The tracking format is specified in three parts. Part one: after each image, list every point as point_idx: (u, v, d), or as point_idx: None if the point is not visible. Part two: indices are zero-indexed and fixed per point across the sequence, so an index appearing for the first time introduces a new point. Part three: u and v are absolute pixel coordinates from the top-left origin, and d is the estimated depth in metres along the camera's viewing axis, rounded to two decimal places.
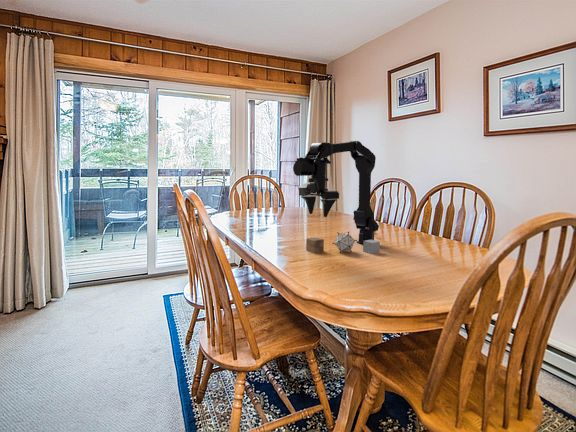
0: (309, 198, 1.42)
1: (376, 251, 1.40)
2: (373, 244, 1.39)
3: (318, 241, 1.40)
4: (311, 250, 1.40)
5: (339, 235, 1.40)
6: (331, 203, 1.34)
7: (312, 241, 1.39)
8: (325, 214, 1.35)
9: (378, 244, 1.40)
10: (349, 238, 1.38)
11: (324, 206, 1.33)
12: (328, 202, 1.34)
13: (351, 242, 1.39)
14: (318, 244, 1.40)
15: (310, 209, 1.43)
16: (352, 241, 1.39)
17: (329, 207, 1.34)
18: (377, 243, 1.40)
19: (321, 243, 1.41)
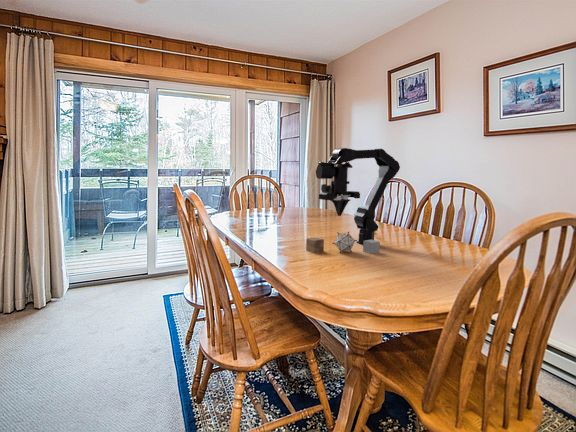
0: None
1: (376, 251, 1.40)
2: (373, 244, 1.39)
3: (318, 241, 1.40)
4: (311, 250, 1.40)
5: (339, 235, 1.40)
6: (338, 204, 1.47)
7: (312, 241, 1.39)
8: (337, 213, 1.49)
9: (378, 244, 1.40)
10: (349, 238, 1.38)
11: None
12: (338, 203, 1.48)
13: (351, 242, 1.39)
14: (318, 244, 1.40)
15: None
16: (352, 241, 1.39)
17: (338, 207, 1.48)
18: (377, 243, 1.40)
19: (321, 243, 1.41)
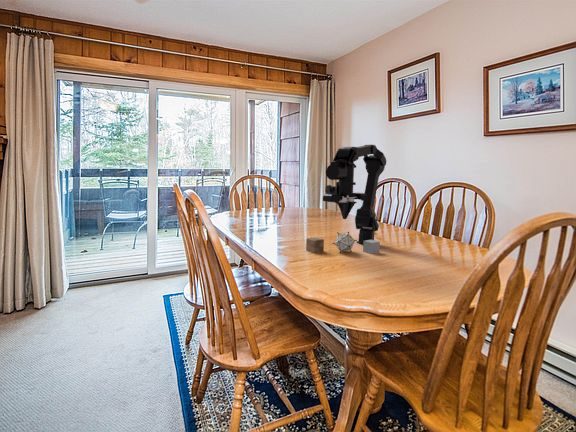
0: None
1: (376, 251, 1.40)
2: (373, 244, 1.39)
3: (318, 241, 1.40)
4: (311, 250, 1.40)
5: (339, 235, 1.40)
6: (344, 206, 1.37)
7: (312, 241, 1.39)
8: (343, 216, 1.40)
9: (378, 244, 1.40)
10: (349, 238, 1.38)
11: None
12: (343, 205, 1.38)
13: (351, 242, 1.39)
14: (318, 244, 1.40)
15: None
16: (352, 241, 1.39)
17: (343, 210, 1.38)
18: (377, 243, 1.40)
19: (321, 243, 1.41)
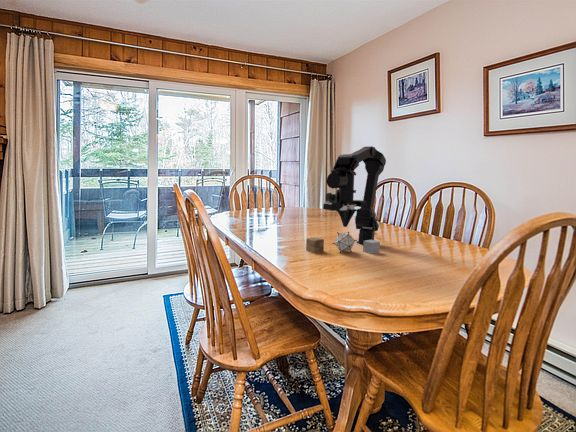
0: None
1: (376, 251, 1.40)
2: (373, 244, 1.39)
3: (318, 241, 1.40)
4: (311, 250, 1.40)
5: (339, 235, 1.40)
6: (344, 214, 1.37)
7: (312, 241, 1.39)
8: (343, 224, 1.40)
9: (378, 244, 1.40)
10: (349, 238, 1.38)
11: None
12: (343, 213, 1.38)
13: (351, 242, 1.39)
14: (318, 244, 1.40)
15: None
16: (352, 241, 1.39)
17: (344, 218, 1.38)
18: (377, 243, 1.40)
19: (321, 243, 1.41)
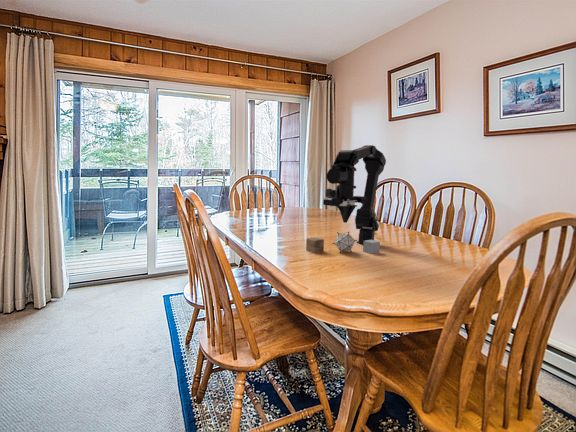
0: None
1: (376, 251, 1.40)
2: (373, 244, 1.39)
3: (318, 241, 1.40)
4: (311, 250, 1.40)
5: (339, 235, 1.40)
6: (344, 210, 1.37)
7: (312, 241, 1.39)
8: (343, 220, 1.39)
9: (378, 244, 1.40)
10: (349, 238, 1.38)
11: None
12: (343, 208, 1.38)
13: (351, 242, 1.39)
14: (318, 244, 1.40)
15: None
16: (352, 241, 1.39)
17: (344, 213, 1.38)
18: (377, 243, 1.40)
19: (321, 243, 1.41)
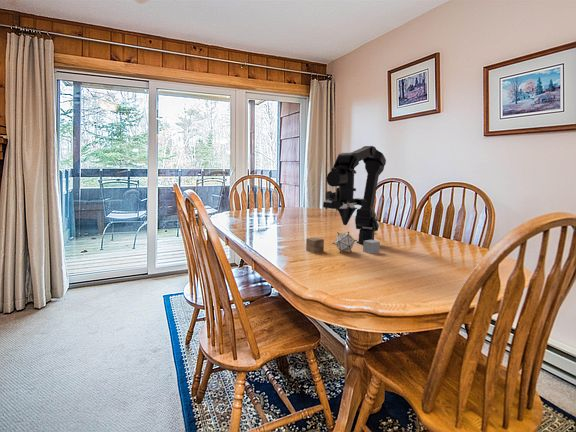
0: None
1: (376, 251, 1.40)
2: (373, 244, 1.39)
3: (318, 241, 1.40)
4: (311, 250, 1.40)
5: (339, 235, 1.40)
6: (344, 212, 1.37)
7: (312, 241, 1.39)
8: (343, 222, 1.40)
9: (378, 244, 1.40)
10: (349, 238, 1.38)
11: None
12: (343, 211, 1.38)
13: (351, 242, 1.39)
14: (318, 244, 1.40)
15: None
16: (352, 241, 1.39)
17: (344, 216, 1.38)
18: (377, 243, 1.40)
19: (321, 243, 1.41)
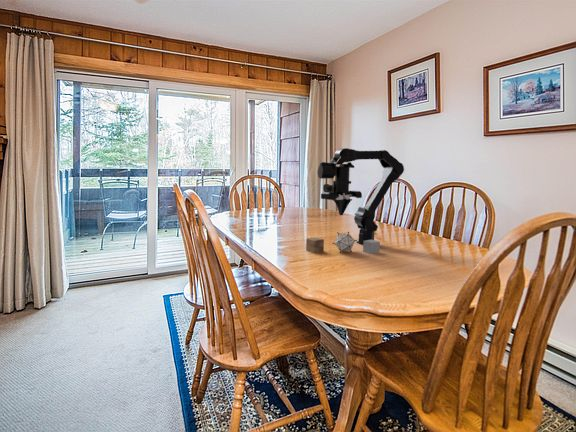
0: None
1: (376, 251, 1.40)
2: (373, 244, 1.39)
3: (318, 241, 1.40)
4: (311, 250, 1.40)
5: (339, 235, 1.40)
6: (340, 203, 1.49)
7: (312, 241, 1.39)
8: (339, 213, 1.51)
9: (378, 244, 1.40)
10: (349, 238, 1.38)
11: None
12: (339, 202, 1.50)
13: (351, 242, 1.39)
14: (318, 244, 1.40)
15: None
16: (352, 241, 1.39)
17: (340, 206, 1.50)
18: (377, 243, 1.40)
19: (321, 243, 1.41)
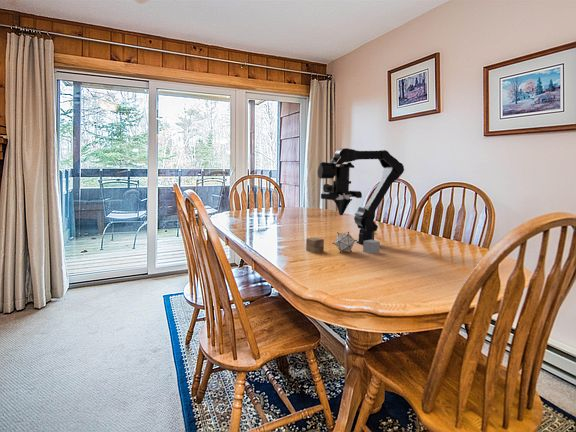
0: None
1: (376, 251, 1.40)
2: (373, 244, 1.39)
3: (318, 241, 1.40)
4: (311, 250, 1.40)
5: (339, 235, 1.40)
6: (340, 203, 1.49)
7: (312, 241, 1.39)
8: (339, 213, 1.51)
9: (378, 244, 1.40)
10: (349, 238, 1.38)
11: None
12: (339, 202, 1.50)
13: (351, 242, 1.39)
14: (318, 244, 1.40)
15: None
16: (352, 241, 1.39)
17: (340, 206, 1.50)
18: (377, 243, 1.40)
19: (321, 243, 1.41)
